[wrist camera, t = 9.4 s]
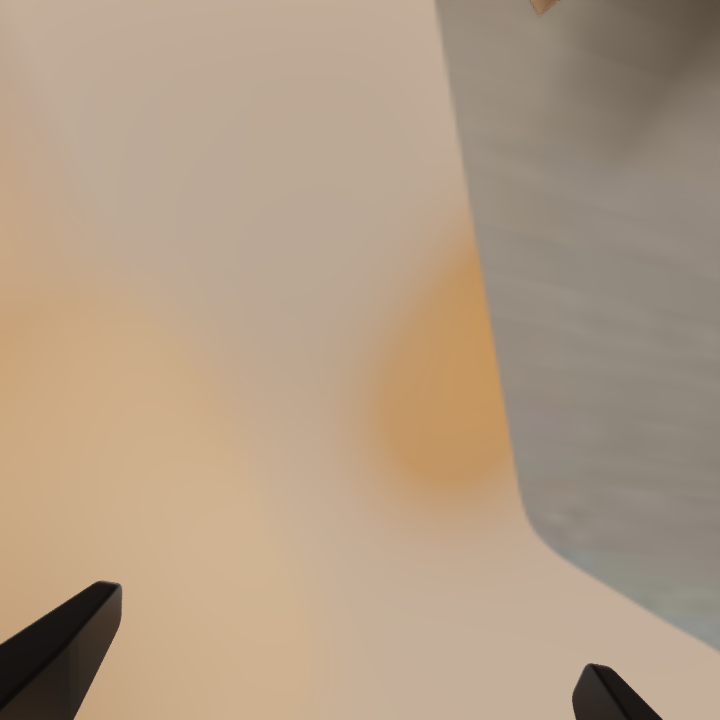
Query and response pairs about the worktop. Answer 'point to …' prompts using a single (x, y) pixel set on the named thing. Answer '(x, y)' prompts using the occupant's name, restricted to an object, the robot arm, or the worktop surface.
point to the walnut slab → (542, 5)
